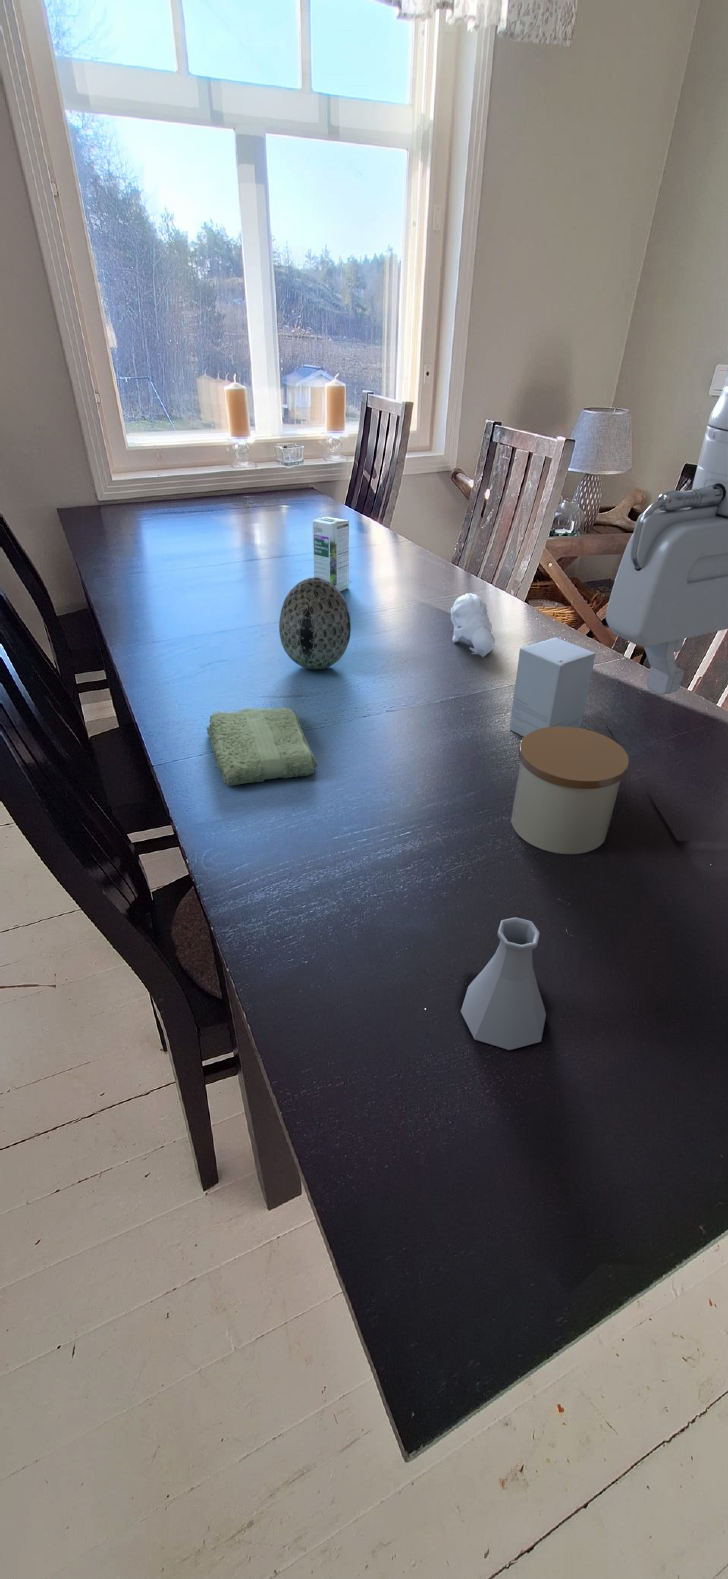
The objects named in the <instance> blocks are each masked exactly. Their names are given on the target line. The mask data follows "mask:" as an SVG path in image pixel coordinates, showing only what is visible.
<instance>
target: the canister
mask: <svg viewBox="0 0 728 1579" xmlns="http://www.w3.org/2000/svg"><path fill="white" fill-rule="evenodd" d="M518 758H519V764H518V772H517V778H516V784H515V790H514V795H513V796H514V797H513V803H512V809H511V814H510V822H511V826H512V829H514V832H515V833H516V834H517V836H519V837H520V838H521V839H522V840H524V841H525V842H526V843H528V844H529V845H531V846H532V847H533V846H534V848H537V849H540V850H543V851H546V852H550V853H554V854H560V855H580V854H586V853H589V852H592V851H594V850H597V848H599V847H601V845H603V844H604V842H605V841H606V839H607V837H608V836H607V835H608V832H609V828H610V825H611V821H612V817H613V812H614V810H615V805H616V802H617V798H618V793H619V790H620V786H621V782H622V780H623V779H624V777H625V776H626V774H627V771H628V768H629V764H630V759H629V755H628V753H627V751H626V750H625V749H624V747H623V746H622V745H620V744H619V743H618V742H617V741H615V740H613V739H612V738H610V737H609V736H606V735H604V734H602V733H599V732H597V731H595V730H590V729H586V728H582V727H581V728H576V727H566V726H554V727H546V728H541V729H537V730H535V731H532V732H530V733H529V734H527V735H526V736H525V737H522V739H521V740H520V743H519V748H518Z"/></svg>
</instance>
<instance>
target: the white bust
mask: <svg viewBox="0 0 728 1579" xmlns="http://www.w3.org/2000/svg"><path fill="white" fill-rule="evenodd" d="M450 621H451V623H452V624H453V636H452V642H453V643H455V644H456V643H457V644H458V642H460V641H461V640H462V638H464V639H465V640H466V641H469V642H470V643H471V644H472V645H473V647H469V650H470V651H472V652H471V653H470V654H471V655H473V654H474V655H479V656H481V657H482V658H485V657H486V656H487V654H489V653H490V652H492V650H493V649H494V648H495V645H496V639H495V637H494V635H493V634H492V628H493V626H492V623H491V621H490V618H489V615H488V605H487V604H486V603H485V601H484V599H483V598H481V597H480V596H479V595H477V594H475V593H469V592H468V593H466V594H463V595H461V596H458V597H457V598H456V599H455V601H454V603H453V606H452V607H451V608H450Z"/></svg>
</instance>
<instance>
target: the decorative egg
mask: <svg viewBox="0 0 728 1579" xmlns="http://www.w3.org/2000/svg"><path fill="white" fill-rule="evenodd" d="M351 625H352V624H351V615H350V612H349V607H348V604H347V602H346V600H345V598H344V596H343V595H342V593H341V591H340V592H339V590H338V589H337V588H336V587H335V586H334V585H333V584H332V583H330V582H329V581H327V580H324V579H322V578H316V577H314V576H312V577H308V578H305V579H303V580H301V581H299V582H298V583H296V584H295V585H294V586H293V587H292V588H291V589H290V591H289V592H288V593H287V594H286V597H285V599H284V601H283V603H282V606H281V610H280V615H279V622H278V629H279V630H278V631H279V638H280V642H281V646H282V648H283V650H284V652H285V653H286V655H287V656H288V658H289V659H291V661H293V662H294V663H295V664H296V665H297V666H299V667H302V668H304V669H308V670H312V671H313V670H315V671H316V670H323V669H326V668H329V667H331V666H333V665H335V663H337V662H338V661H339V660H340V659H341V658H342V656H343V655H344V654H345V652H346V651H347V648H348V646H349V643H350V638H351V632H352V631H351V630H352V629H351V628H352V627H351Z"/></svg>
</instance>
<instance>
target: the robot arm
mask: <svg viewBox="0 0 728 1579" xmlns="http://www.w3.org/2000/svg"><path fill="white" fill-rule="evenodd" d="M726 348H727V349H726V350H728V347H726ZM694 474H695V475H694V478H693V482H692V486H691V489H688V490H680V489H679V490H678V489H677V490H676V489H675V490H669V491H666V492H663V493H660V494H659V496H658V497H657V499H656V501H654V502H653V503H651V504H650V505H649V506H648V507H647V508H646V510H645V511H644V512H642V513H640V515H639V516H638V517H637V520H636V522H635V525H634V528H633V533H632V534H631V536H630V537H629V540H628V541H627V545H626V547H625V549H624V552H623V555H622V558H621V561H620V563H619V567H618V569H617V573H616V576H615V579H614V582H613V586H612V589H611V593H610V596H609V600H608V603H607V608H606V614H605V621H606V623H607V625H608V628H609V630H610V631H611V633H612V634H614V635H616V636H617V637H619V638H621V639H623V640H624V641H627V642H628V643H632V644H634V645H636V646H638V647H641V648H643V649H644V652H645V654H646V658H647V660H648V664H649V666H650V667H649V672H648V676H647V680H646V687H647V689H648V690H649V691H652V692H653V693H655V694H657V695H658V696H663V695H668V694H672V693H675V692H678V691H680V689H681V687H682V684H681V682H682V681H683V679H684V675H685V669H682V668H681V667H679V666H677V665H676V657H675V653H679V652H681V650H682V648H683V644H684V641H685V639H688V638H689V639H690V638H694V637H697V636H702V635H707V634H711V633H716V632H721V631H725V630H728V367H727V369H726V376H725V380H724V385H723V387H722V390H721V392H720V395H719V397H718V399H717V402H716V403H715V405H714V407H713V409H712V411H711V413H710V415H709V418H708V421H707V425H706V429H705V433H704V437H703V441H702V446H701V450H700V453H699V457H698V462H697V466H696V471H695V473H694Z"/></svg>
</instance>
